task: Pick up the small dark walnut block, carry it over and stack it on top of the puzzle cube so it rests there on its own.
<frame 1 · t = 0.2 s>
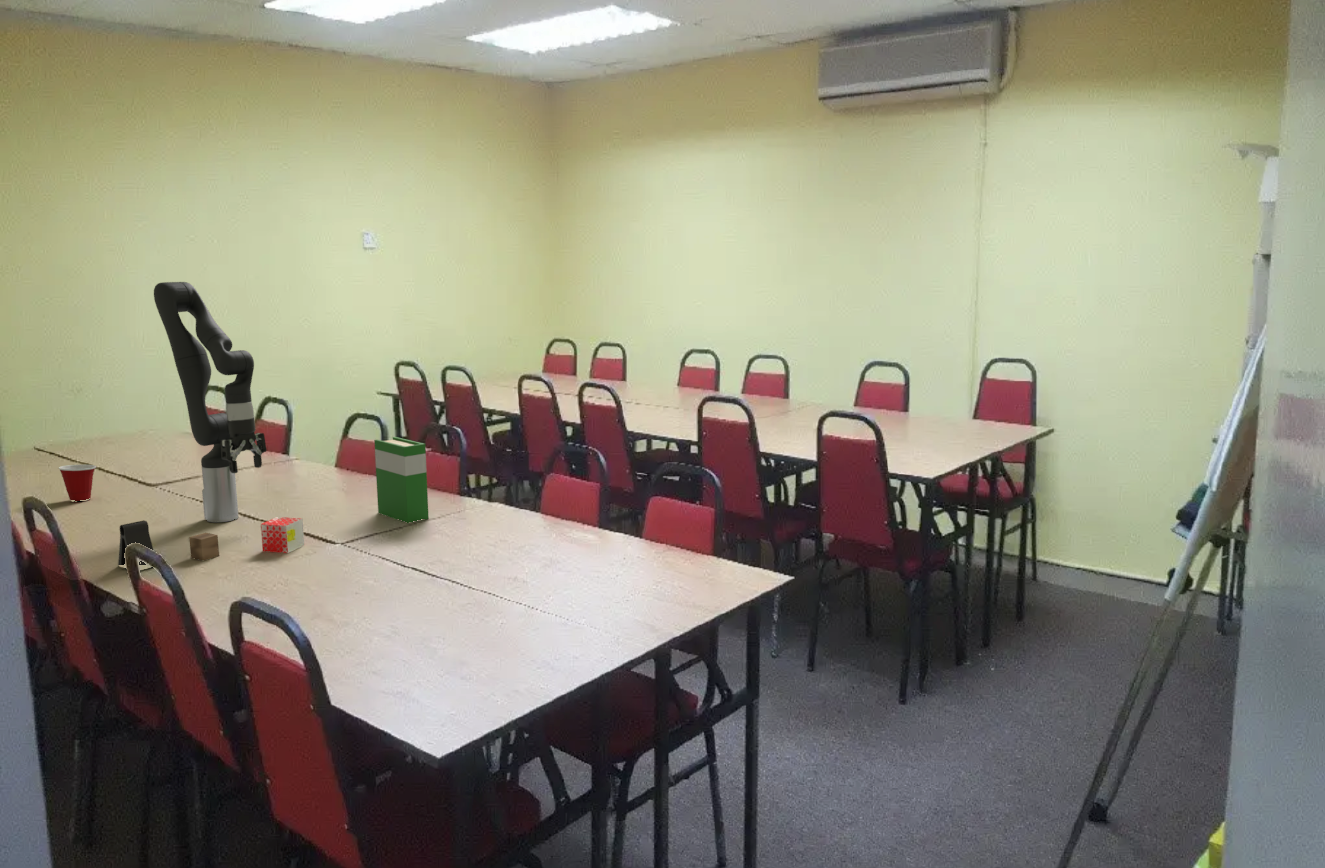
hand: (246, 470, 285), 17 cm above the table, tool pointing down, fingers open, 8 cm apart
hardback book: (403, 516, 299), on the table
black tent stand: (138, 567, 249), on the table
walnut block: (205, 557, 257), on the table
plastic cup: (81, 500, 318), on the table
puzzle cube: (283, 548, 265), on the table
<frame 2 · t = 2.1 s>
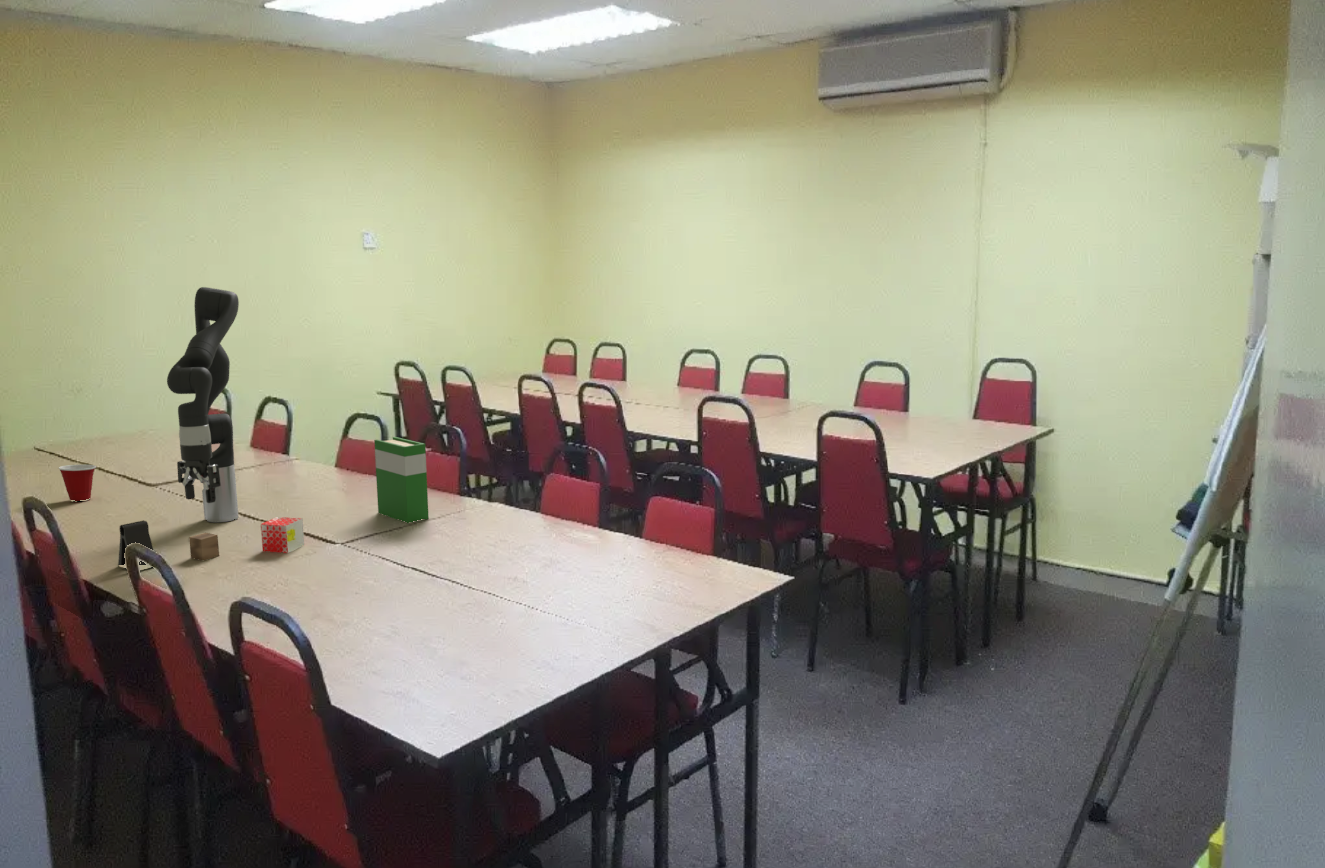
hand: (200, 500, 254), 16 cm above the table, tool pointing down, fingers open, 8 cm apart
nothing on the table moved.
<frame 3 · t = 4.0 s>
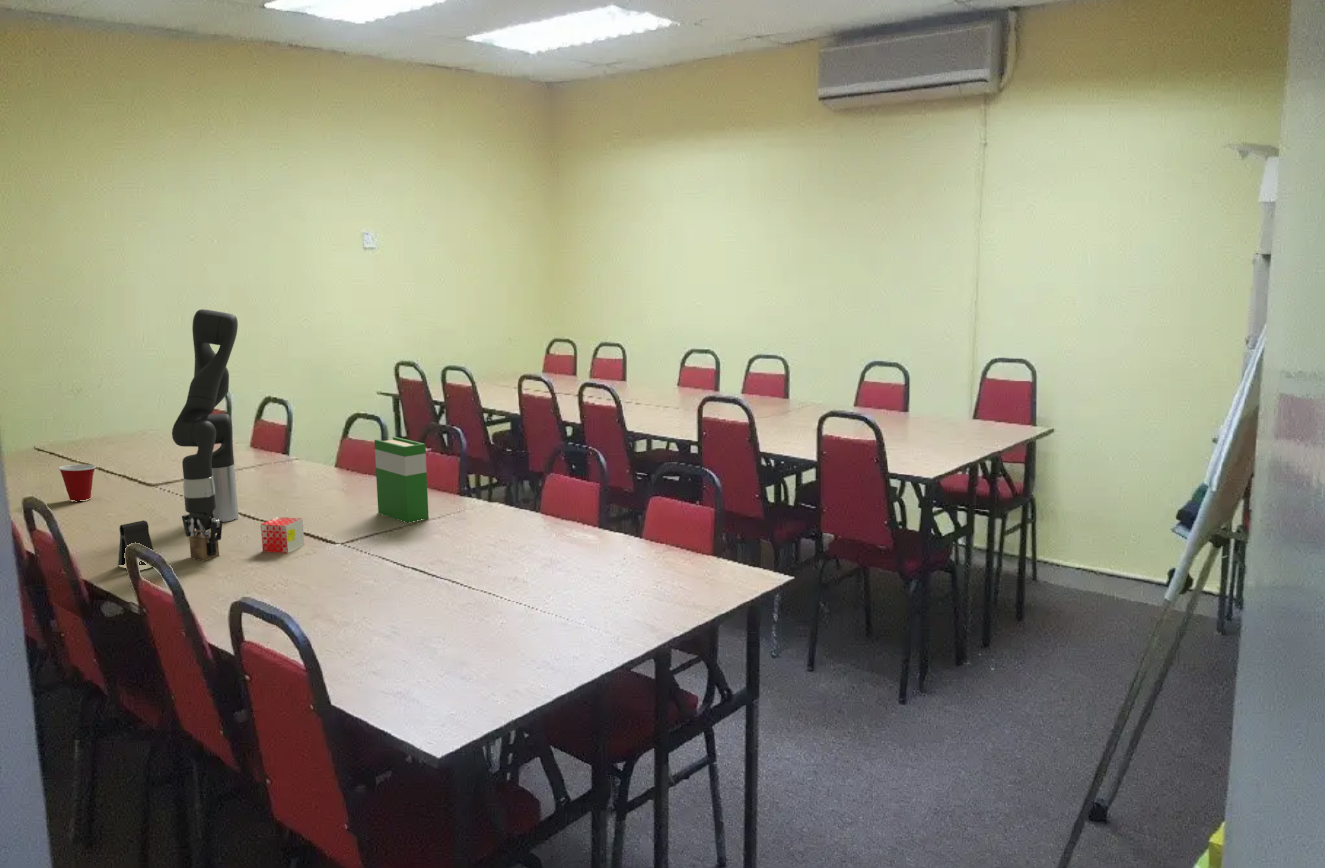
hand: (204, 553, 257), 1 cm above the table, tool pointing down, fingers closed on walnut block, 5 cm apart
walnut block: (205, 557, 257), on the table, touching gripper
everything else where it was.
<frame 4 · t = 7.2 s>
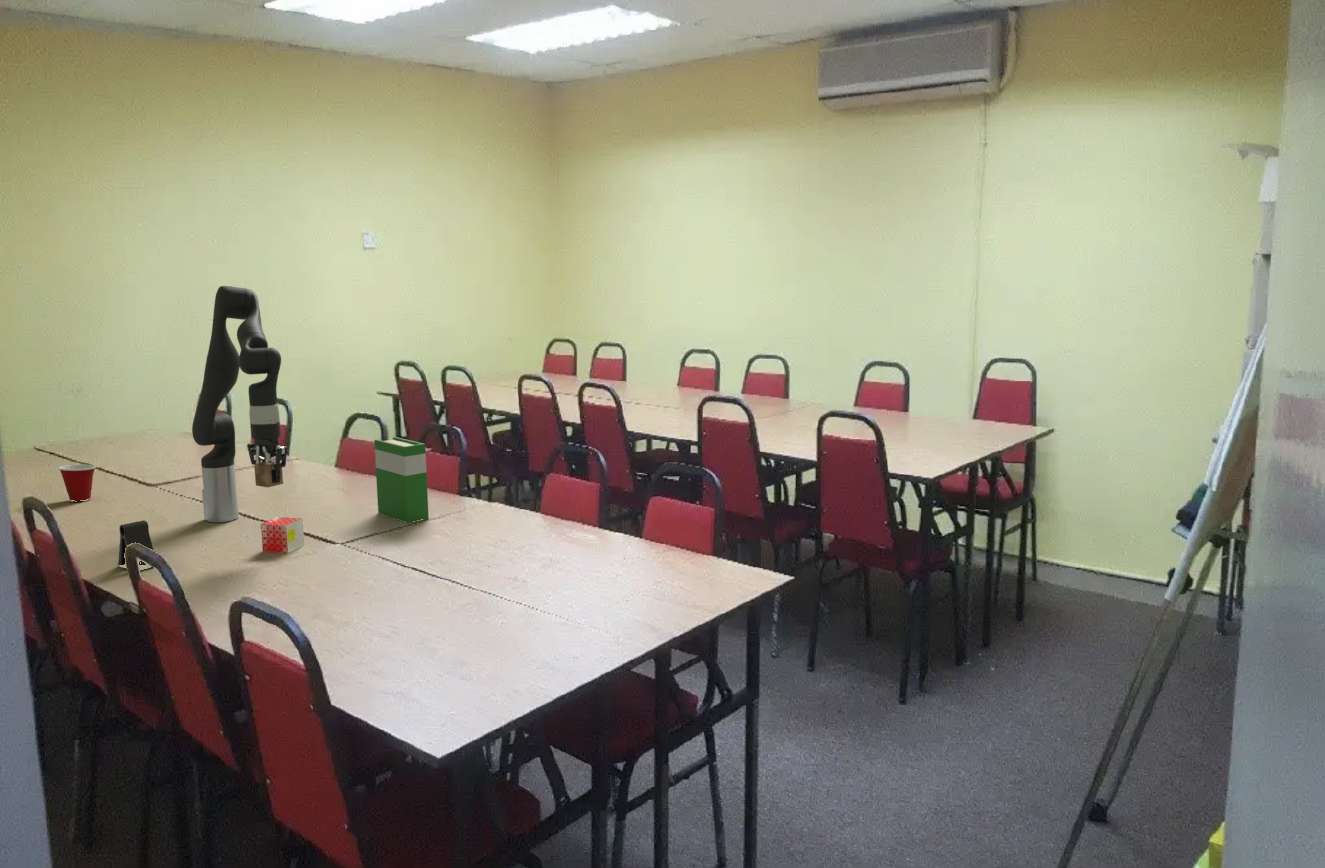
hand: (269, 481, 260), 20 cm above the table, tool pointing down, fingers closed on walnut block, 5 cm apart
walnut block: (269, 484, 261), point 19 cm above the table, touching gripper
everything else where it was.
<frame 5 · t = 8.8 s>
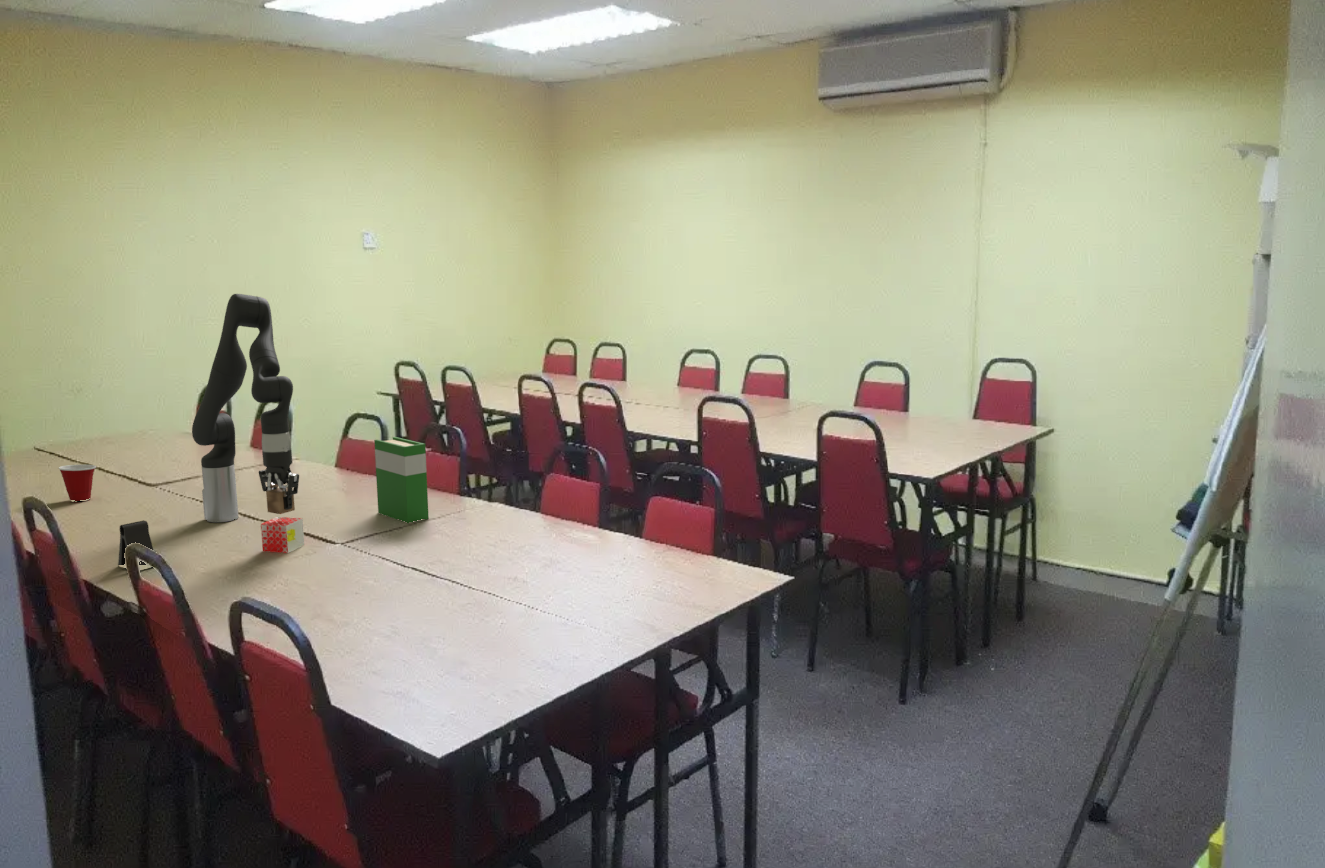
hand: (281, 507, 263), 12 cm above the table, tool pointing down, fingers closed on walnut block, 5 cm apart
walnut block: (281, 511, 263), point 11 cm above the table, touching gripper
everything else where it was.
when the fingers open (10 cm above the table, at t = 10.0 s): walnut block drops 1 cm, resting on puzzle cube.
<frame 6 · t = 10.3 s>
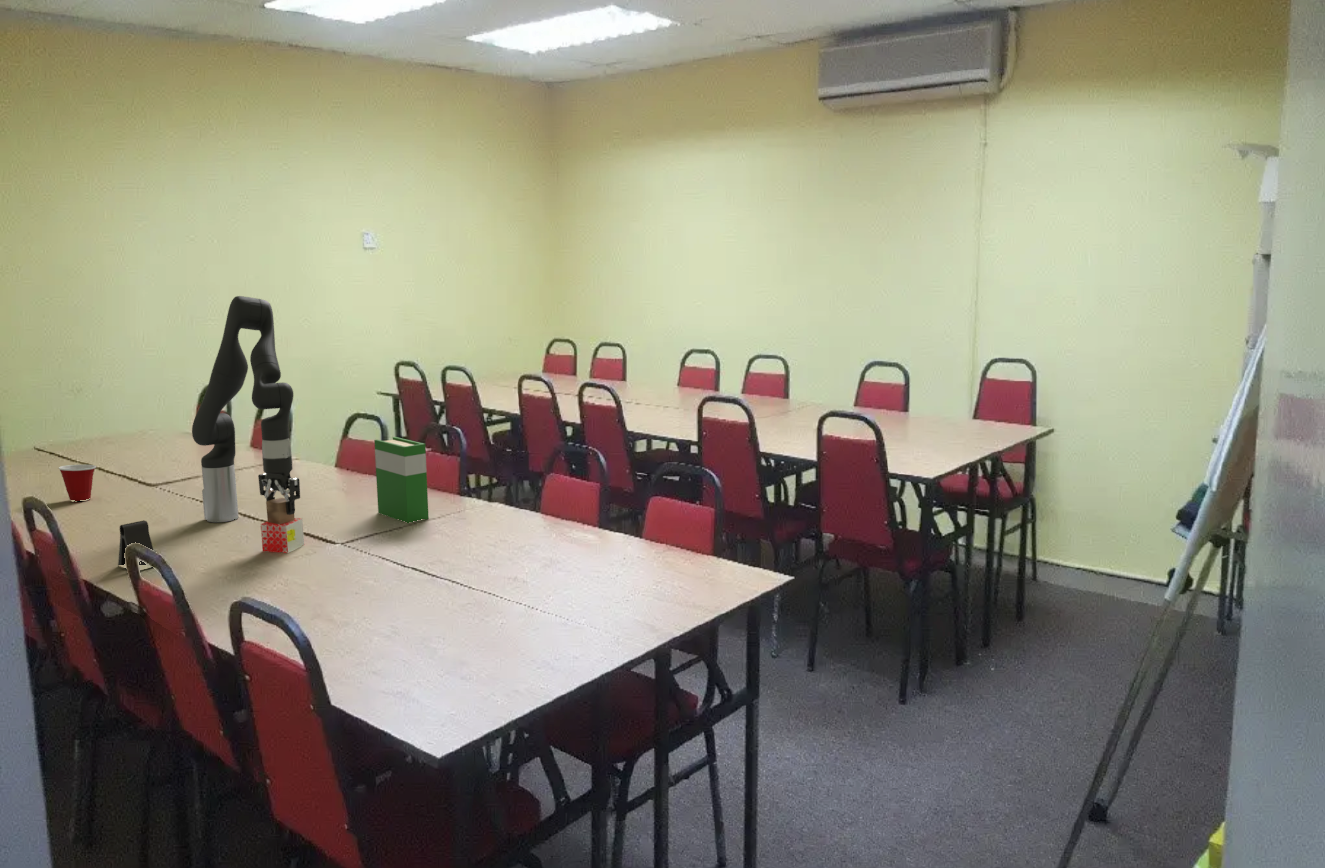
hand: (281, 512, 263), 10 cm above the table, tool pointing down, fingers open, 7 cm apart
walnut block: (281, 521, 264), point 8 cm above the table, touching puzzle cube
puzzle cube: (283, 549, 265), on the table, touching walnut block
everything else where it was.
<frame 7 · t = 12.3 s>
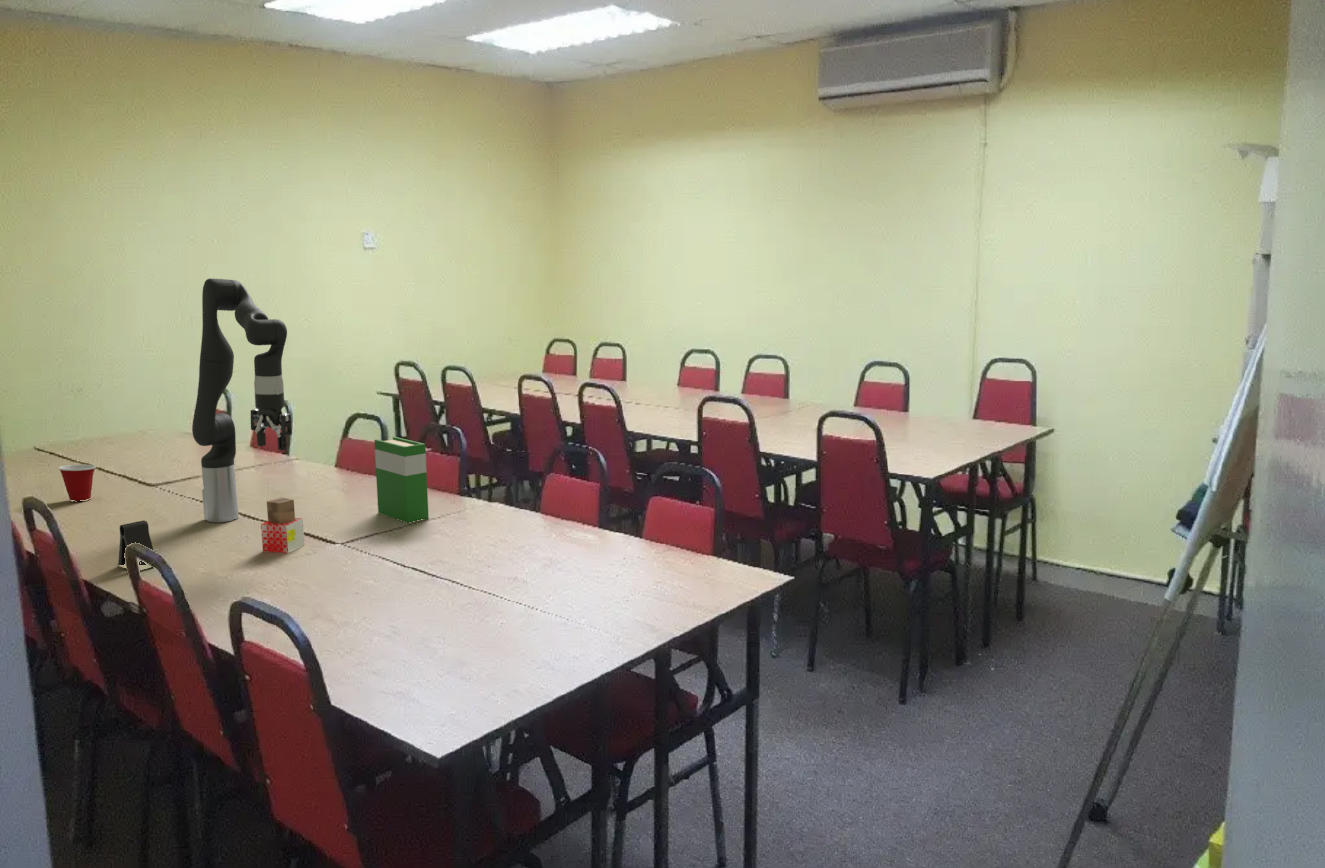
hand: (271, 447, 266), 28 cm above the table, tool pointing down, fingers open, 8 cm apart
nothing on the table moved.
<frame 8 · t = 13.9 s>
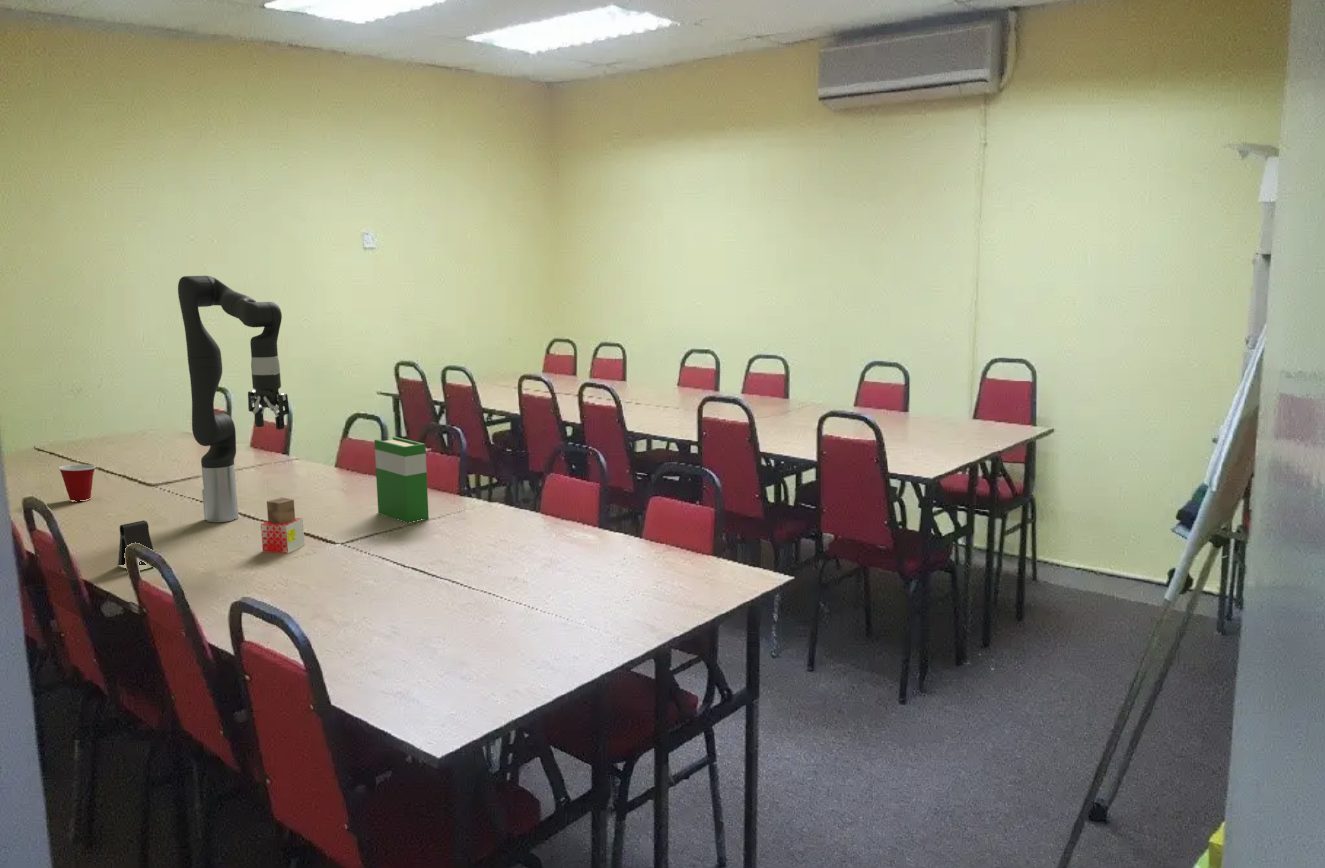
hand: (270, 428, 272), 32 cm above the table, tool pointing down, fingers open, 8 cm apart
nothing on the table moved.
at the end: walnut block 0.1 cm from the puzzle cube (horizontally); walnut block inside the target area (0.1 cm from its centre), point 7.8 cm above the table; the gripper is holding nothing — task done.
